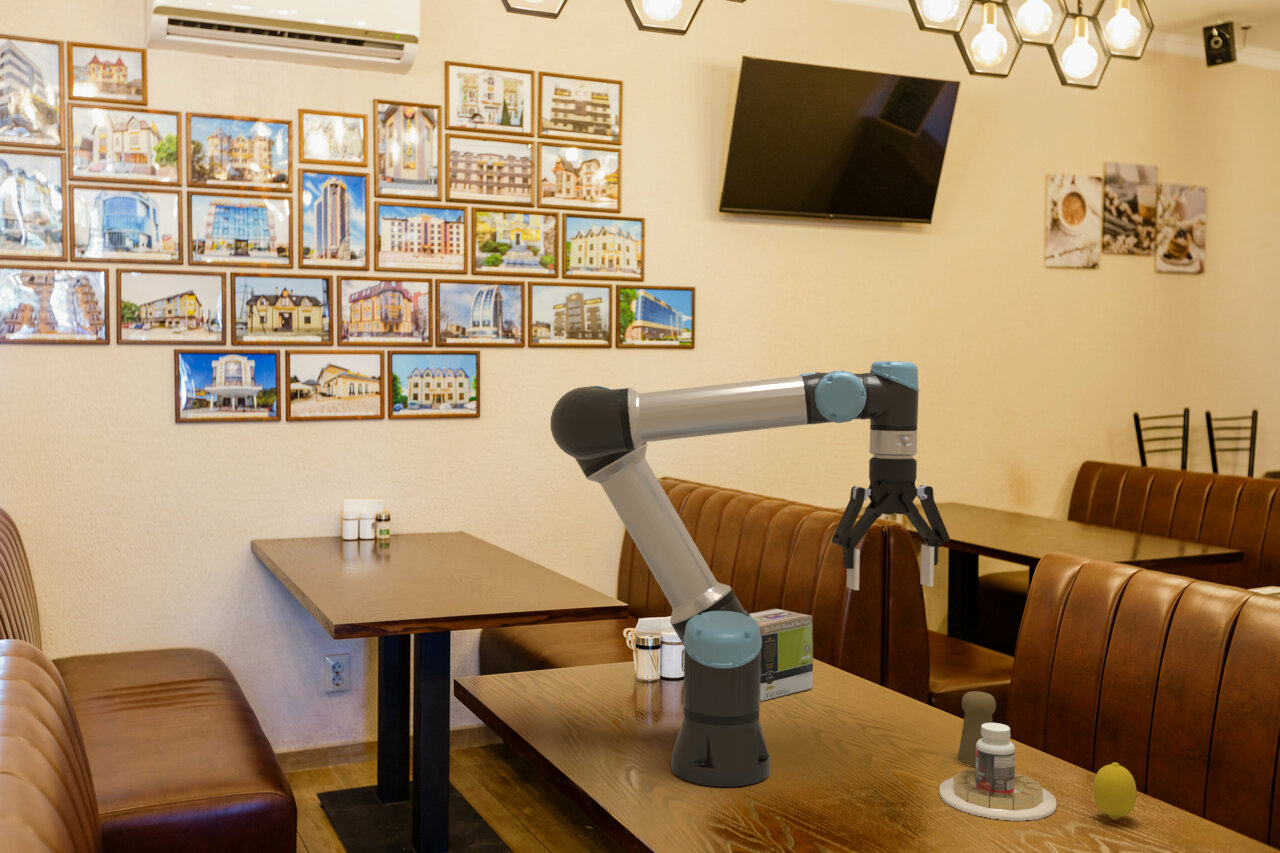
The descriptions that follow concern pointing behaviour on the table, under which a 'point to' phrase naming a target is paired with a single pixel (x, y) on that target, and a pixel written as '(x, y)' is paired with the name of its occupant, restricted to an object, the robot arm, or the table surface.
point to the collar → (1007, 801)
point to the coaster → (1013, 815)
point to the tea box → (785, 652)
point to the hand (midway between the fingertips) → (890, 587)
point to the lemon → (1114, 791)
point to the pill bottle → (995, 759)
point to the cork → (974, 723)
